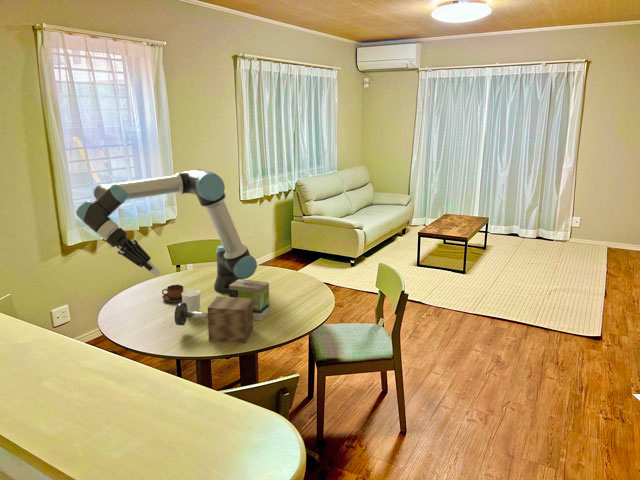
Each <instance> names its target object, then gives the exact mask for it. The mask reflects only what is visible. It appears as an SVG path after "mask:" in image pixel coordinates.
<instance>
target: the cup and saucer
mask: <svg viewBox="0 0 640 480" xmlns="http://www.w3.org/2000/svg"><path fill="white" fill-rule="evenodd" d="M164 291H166V292H167V293H165V292H164ZM182 292H184V286H183V285H182V284H172V285H169V286H166V288H164V289H162V291H161V293H162V299H163V301H165V302H168V303H178V302H179V303H181V302H182Z"/></svg>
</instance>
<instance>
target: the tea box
mask: <svg viewBox="0 0 640 480" xmlns="http://www.w3.org/2000/svg"><path fill="white" fill-rule="evenodd" d="M228 297H237V298H253V321H259V322H261V321H262V320H263V319H264V318H265V317H267V316H268V315H269V314H268V313H270V282H267V281H260V280H259V281H258V280H252V279H238V280H237V281H235V282H234V283H232V284H230V285H229V293H228Z"/></svg>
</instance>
